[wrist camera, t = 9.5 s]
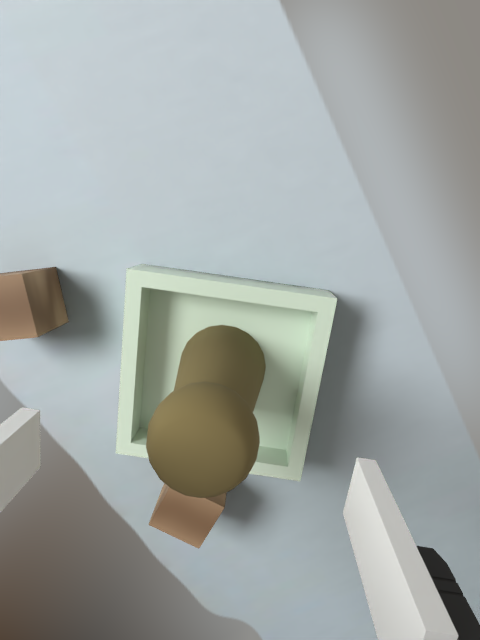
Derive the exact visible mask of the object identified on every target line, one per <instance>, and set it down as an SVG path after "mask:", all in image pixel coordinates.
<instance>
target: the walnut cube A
mask: <svg viewBox="0 0 480 640" xmlns="http://www.w3.org/2000/svg"><path fill="white" fill-rule="evenodd" d="M67 322H69V321H68V317H67V313H66V308H65V304H64V300H63V295H62V291H61V287H60V282H59V278H58V274H57V269H56V267H51V268H42V269H34V270H25V271H16V272H8V273H0V341H5V340H15V339H25V338H35V337H39V336H41V335H43V334H45V333H47V332H49V331H51V330H53V329H55V328H57V327H59V326H61V325H63V324H65V323H67Z"/></svg>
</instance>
